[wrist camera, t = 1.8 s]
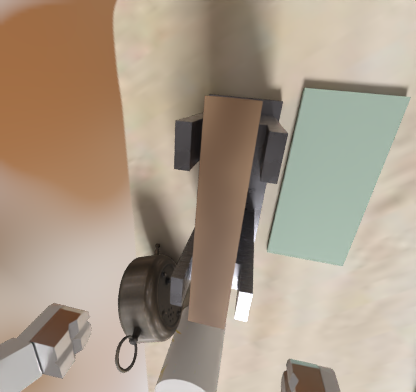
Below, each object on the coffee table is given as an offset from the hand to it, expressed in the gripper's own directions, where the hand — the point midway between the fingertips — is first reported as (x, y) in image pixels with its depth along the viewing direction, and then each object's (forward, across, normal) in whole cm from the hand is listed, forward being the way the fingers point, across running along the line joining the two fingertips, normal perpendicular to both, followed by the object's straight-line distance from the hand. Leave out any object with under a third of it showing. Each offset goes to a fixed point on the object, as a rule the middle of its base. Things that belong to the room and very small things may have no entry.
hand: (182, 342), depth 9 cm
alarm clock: (+24, +8, +17) cm, 30 cm away
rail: (+11, 0, 0) cm, 11 cm away
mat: (+23, -11, 0) cm, 26 cm away
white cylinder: (+23, +2, +28) cm, 36 cm away
